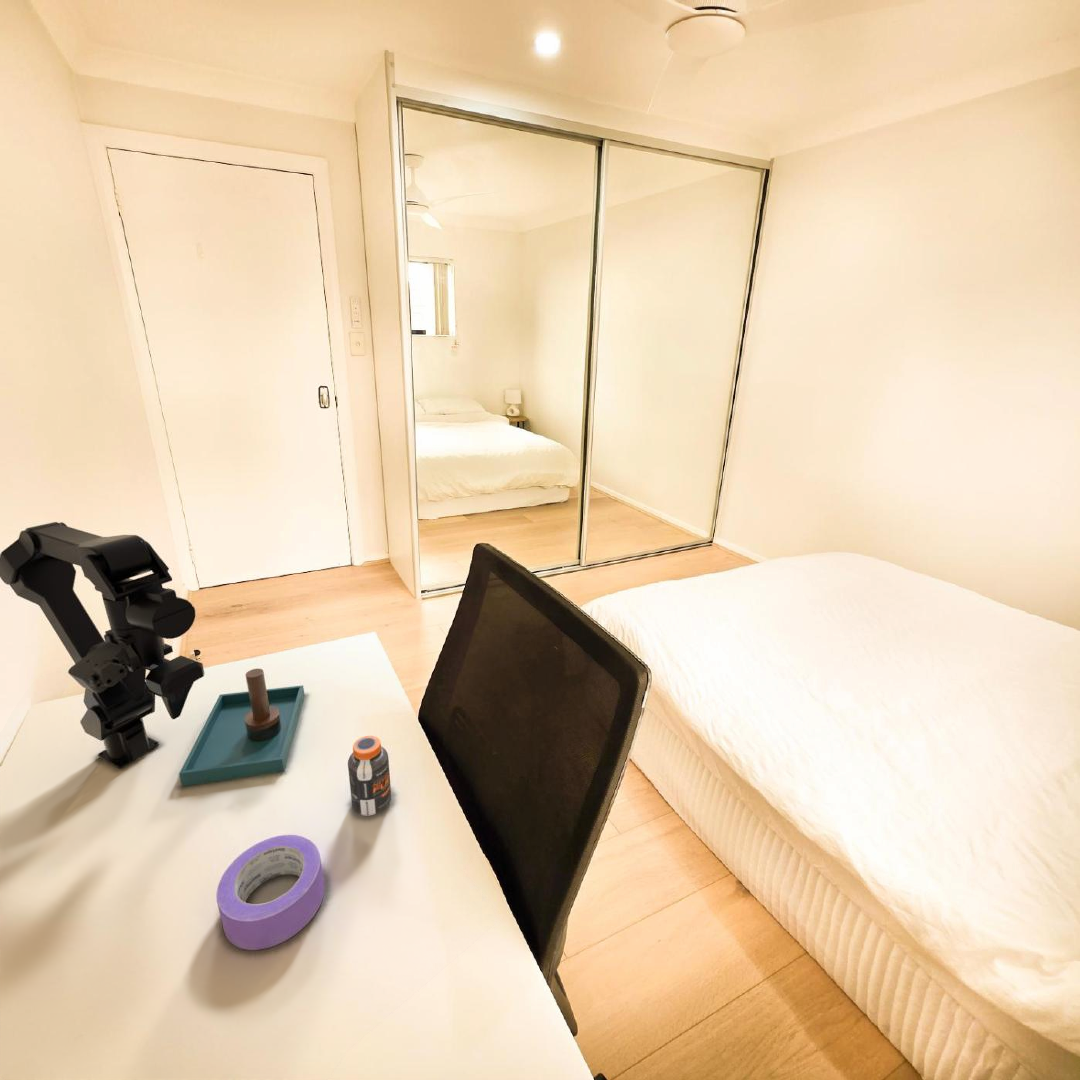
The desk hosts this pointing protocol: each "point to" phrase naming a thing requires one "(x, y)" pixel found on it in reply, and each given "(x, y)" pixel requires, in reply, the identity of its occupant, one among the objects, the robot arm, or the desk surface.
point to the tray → (242, 739)
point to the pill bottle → (369, 776)
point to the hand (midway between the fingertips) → (157, 709)
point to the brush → (260, 709)
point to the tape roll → (280, 915)
